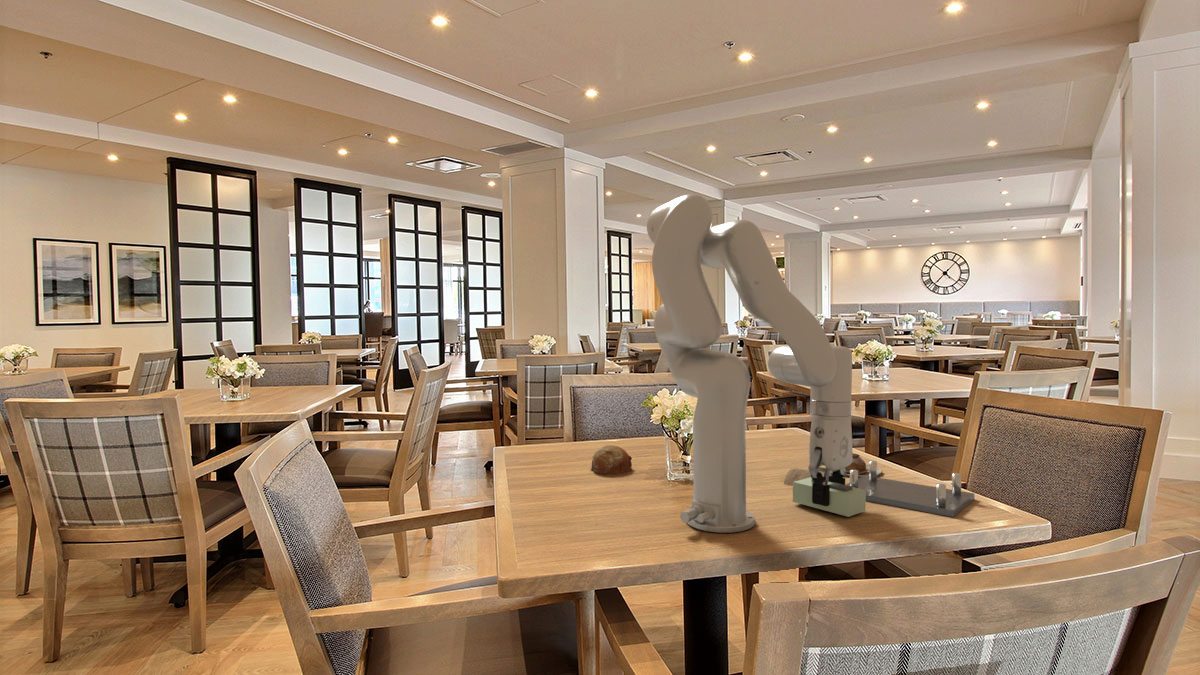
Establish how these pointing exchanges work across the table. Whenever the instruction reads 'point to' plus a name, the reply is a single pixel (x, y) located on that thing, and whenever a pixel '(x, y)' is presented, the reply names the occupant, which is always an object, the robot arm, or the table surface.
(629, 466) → the bread roll
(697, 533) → the table surface
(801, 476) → the curved roof tile
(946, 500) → the chassis
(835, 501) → the block
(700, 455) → the robot arm
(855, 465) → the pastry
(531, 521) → the table surface
